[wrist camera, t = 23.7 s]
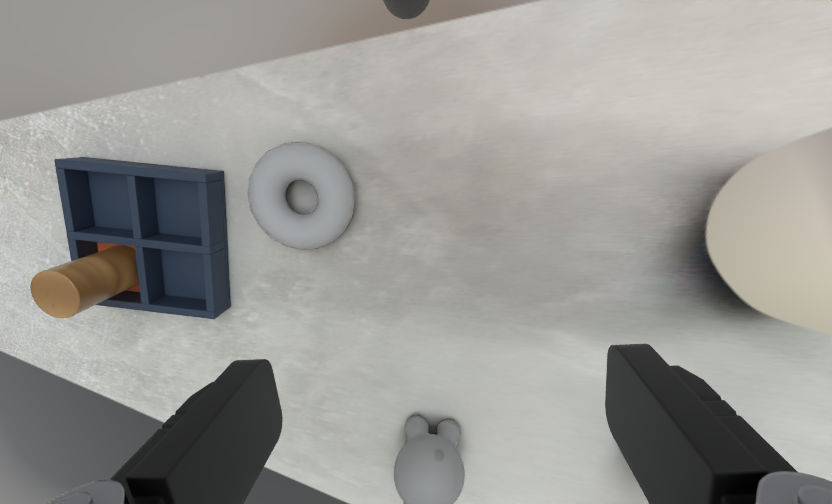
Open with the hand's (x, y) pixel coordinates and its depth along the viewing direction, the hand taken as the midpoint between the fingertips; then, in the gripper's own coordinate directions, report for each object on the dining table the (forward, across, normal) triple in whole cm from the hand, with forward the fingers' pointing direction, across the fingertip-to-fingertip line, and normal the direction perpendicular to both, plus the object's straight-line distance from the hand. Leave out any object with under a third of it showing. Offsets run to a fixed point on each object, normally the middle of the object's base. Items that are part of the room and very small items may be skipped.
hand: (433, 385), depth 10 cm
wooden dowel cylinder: (+29, +34, +5) cm, 45 cm away
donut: (+30, +13, -1) cm, 33 cm away
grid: (+30, +30, +2) cm, 42 cm away
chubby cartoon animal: (+30, +4, +30) cm, 42 cm away
